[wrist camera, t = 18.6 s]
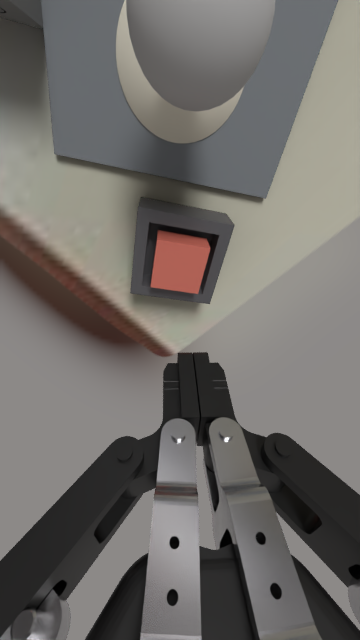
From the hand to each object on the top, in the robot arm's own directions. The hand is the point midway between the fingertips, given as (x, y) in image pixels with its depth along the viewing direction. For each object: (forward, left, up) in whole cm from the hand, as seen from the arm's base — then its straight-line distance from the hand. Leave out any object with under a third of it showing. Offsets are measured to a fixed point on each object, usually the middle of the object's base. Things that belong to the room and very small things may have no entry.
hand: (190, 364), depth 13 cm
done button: (0, 0, -13) cm, 13 cm away
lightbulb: (-2, +13, -16) cm, 20 cm away
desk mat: (-2, +13, -16) cm, 21 cm away
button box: (0, 0, -16) cm, 16 cm away
